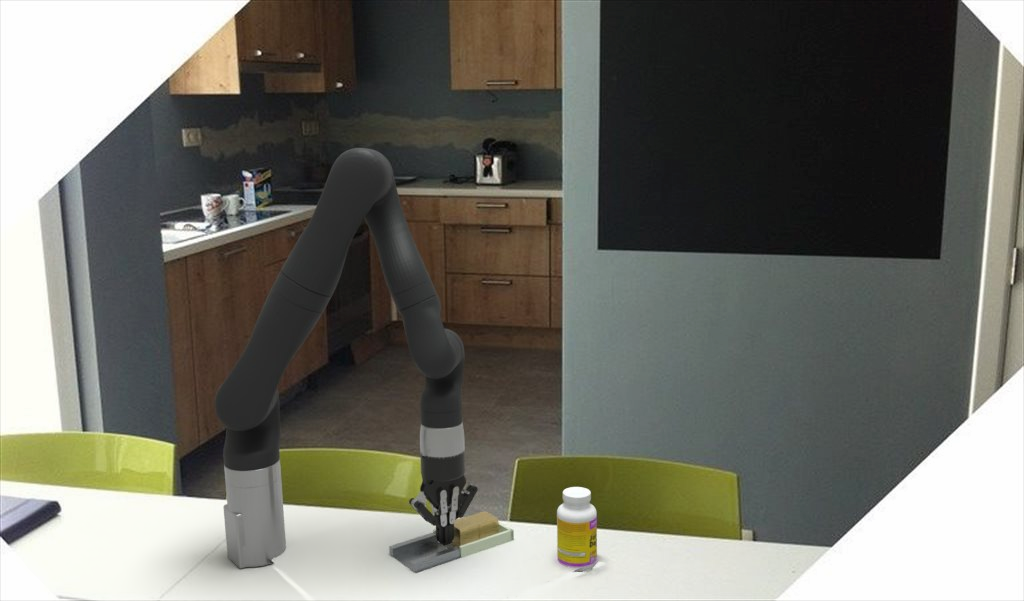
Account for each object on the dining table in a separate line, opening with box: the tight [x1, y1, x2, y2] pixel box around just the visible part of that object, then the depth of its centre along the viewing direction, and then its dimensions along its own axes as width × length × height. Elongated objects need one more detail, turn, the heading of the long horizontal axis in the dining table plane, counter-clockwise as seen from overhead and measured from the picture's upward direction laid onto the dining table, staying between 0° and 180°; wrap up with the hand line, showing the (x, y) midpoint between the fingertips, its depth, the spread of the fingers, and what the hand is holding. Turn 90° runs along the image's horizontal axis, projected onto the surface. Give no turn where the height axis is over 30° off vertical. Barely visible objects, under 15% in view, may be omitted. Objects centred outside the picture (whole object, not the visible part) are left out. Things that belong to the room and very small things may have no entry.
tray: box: [432, 521, 515, 558], centre depth 167 cm, size 11×9×3 cm
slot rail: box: [388, 531, 463, 574], centre depth 161 cm, size 9×9×2 cm
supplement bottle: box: [556, 486, 598, 573], centre depth 158 cm, size 7×7×13 cm
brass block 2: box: [467, 510, 499, 539], centre depth 168 cm, size 4×4×4 cm
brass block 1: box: [451, 516, 480, 547], centre depth 166 cm, size 4×4×4 cm
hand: (445, 543), depth 164 cm, fingers closed
